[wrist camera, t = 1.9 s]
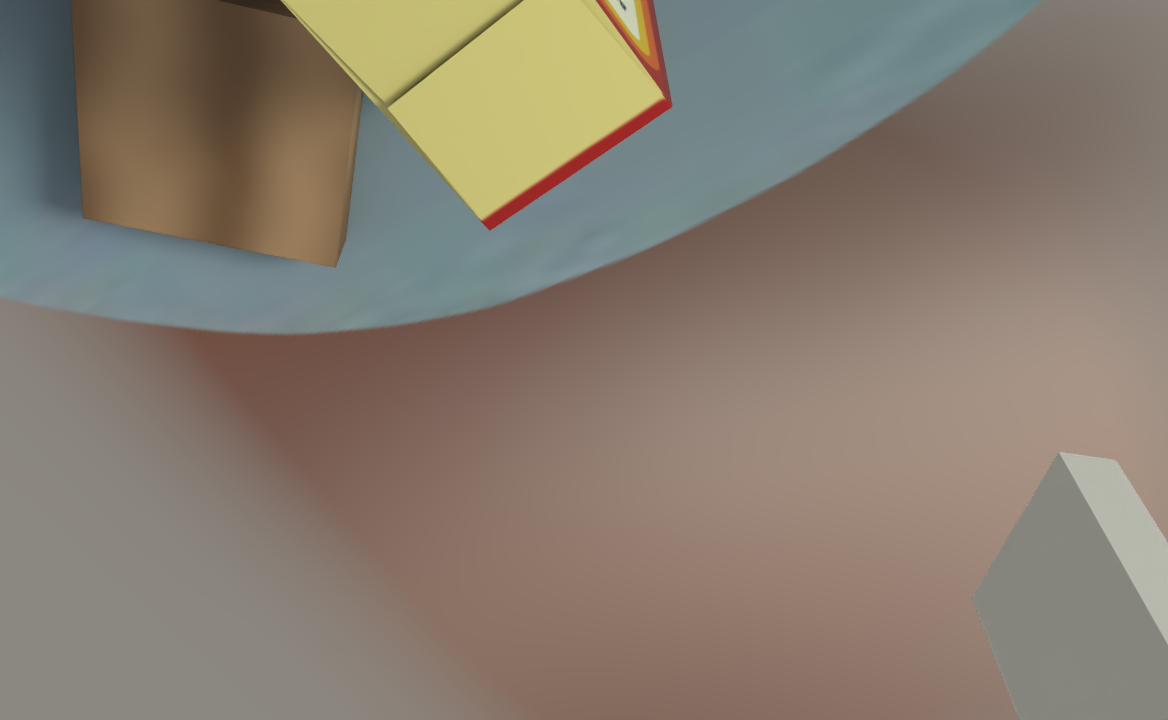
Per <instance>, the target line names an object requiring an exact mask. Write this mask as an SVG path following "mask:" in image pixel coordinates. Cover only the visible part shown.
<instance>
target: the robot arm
mask: <svg viewBox="0 0 1168 720" xmlns="http://www.w3.org/2000/svg"><path fill="white" fill-rule="evenodd" d="M972 601H973V604H974V606H975V609H976V611H977V614H978V617H979V619H980V621H981V624H982V627H983V629H984V632H985V634H986V637H987V639H988V642H989V645H990V647H991V650H992V652H993V654H994V657H995V660H996V662H997V665H998V667H999V670H1000V673H1001V675H1002V677H1003V680H1004V683H1005V685H1006V688H1007V690H1008V693H1009V695H1010V698H1011V700H1012V703H1013V706H1014V708H1015V711H1016V713H1017V716H1018V718H1019V720H1168V543H1167V541H1166V539H1165V538H1164V536H1163V534H1162V533H1161V531H1160V530H1159V528H1158V527H1157V525H1156V523H1155V522H1154V520H1153V519H1152V517H1151V516H1150V514H1149V512H1148V511H1147V509H1146V507H1145V506H1144V504H1143V503H1142V501H1141V500H1140V498H1139V496H1138V495H1137V493H1136V491H1135V490H1134V488H1133V487H1132V485H1131V484H1130V482H1129V480H1128V479H1127V477H1126V476H1125V474H1124V472H1123V471H1122V469H1121V468H1120V466H1119V464H1118V463H1117V461H1116V460H1111V459H1104V458H1097V457H1089V456H1083V455H1076V454H1069V453H1062V452H1059V453H1058V454H1057V456H1056V458H1055V459H1054V461H1053V462H1052V464H1051V466H1050V467H1049V469H1048V471H1047V473H1046V474H1045V476H1044V477H1043V479H1042V481H1041V483H1040V484H1039V486H1038V488H1037V489H1036V491H1035V493H1034V494H1033V496H1032V498H1031V499H1030V501H1029V503H1028V504H1027V506H1026V508H1025V509H1024V511H1023V513H1022V514H1021V516H1020V518H1019V519H1018V521H1017V523H1016V524H1015V526H1014V528H1013V529H1012V531H1011V533H1010V534H1009V536H1008V538H1007V539H1006V541H1005V543H1004V544H1003V546H1002V548H1001V549H1000V551H999V553H998V554H997V556H996V558H995V559H994V561H993V563H992V564H991V566H990V568H989V569H988V571H987V573H986V574H985V576H984V578H983V579H982V581H981V583H980V585H979V586H978V588H977V589H976V591H975V593H974V595H973V596H972Z"/></svg>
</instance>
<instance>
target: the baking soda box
mask: <svg viewBox="0 0 1168 720" xmlns="http://www.w3.org/2000/svg"><path fill="white" fill-rule="evenodd" d="M281 1H282V2H283V3H284V4H285V5H286V7H287V8H288V9H289V10H290V11H291V12H292V13H293V14H294V15H295V16H296V18H297V19H298V20H299V21H300V22H301V23H302V24H303V25H304V26H305V28H306V29H307V30H308V31H309V32H310V33H311V34H312V35H313V36H314V37H315V39H316V40H317V41H318V42H319V43H320V44H321V45H322V46H323V47H324V48H325V50H326V51H327V52H328V53H329V54H330V55H331V56H332V57H333V58H334V60H335V61H336V62H337V63H338V64H339V65H340V66H341V67H342V68H343V69H344V71H345V72H346V73H347V74H348V75H349V76H350V77H351V78H352V79H353V80H354V82H355V83H356V84H357V85H358V86H359V87H360V88H361V89H362V90H363V91H364V93H365V94H366V95H367V96H368V97H369V98H370V99H371V100H372V101H373V103H374V104H375V105H376V106H377V107H378V108H379V109H380V110H381V111H382V112H383V114H384V115H385V116H386V117H387V118H388V119H389V120H390V121H391V122H392V123H393V125H394V126H395V127H396V128H397V129H398V130H399V131H400V132H401V133H402V134H403V136H404V137H405V138H406V139H407V140H408V141H409V142H410V143H411V144H412V146H413V147H414V148H415V149H416V150H417V151H418V152H419V153H420V154H421V155H422V157H423V158H424V159H425V160H426V161H427V162H428V163H429V164H430V165H431V166H432V168H433V169H434V170H435V171H436V172H437V173H438V174H439V175H440V176H441V178H442V179H443V180H444V181H445V182H446V183H447V184H448V185H449V186H450V187H451V189H452V190H453V191H454V192H455V193H456V194H457V195H458V196H459V197H460V198H461V200H462V201H463V202H464V203H465V204H466V205H467V206H468V207H469V208H470V209H471V211H472V212H473V213H474V214H475V215H476V216H477V217H478V218H479V219H480V221H481V222H482V223H483V224H484V225H485V226H486V227H487V228H488V229H489V230H492V229H493V228H495V227H496V226H498V225H499V224H500V223H502V222H503V221H505V220H506V219H508V218H509V217H511V216H512V215H514V214H515V213H517V212H518V211H520V210H521V209H523V208H524V207H525V206H527V205H528V204H530V203H531V202H533V201H534V200H536V199H537V198H539V197H540V196H542V195H543V194H545V193H546V192H548V191H549V190H551V189H552V188H553V187H555V186H556V185H558V184H559V183H561V182H562V181H564V180H565V179H567V178H568V177H570V176H571V175H573V174H574V173H576V172H577V171H578V170H580V169H581V168H583V167H584V166H586V165H587V164H589V163H590V162H592V161H593V160H595V159H596V158H598V157H599V156H601V155H602V154H603V153H605V152H606V151H608V150H609V149H611V148H612V147H614V146H615V145H617V144H618V143H620V142H621V141H623V140H624V139H626V138H627V137H628V136H630V135H631V134H633V133H634V132H636V131H637V130H639V129H640V128H642V127H643V126H645V125H646V124H648V123H649V122H651V121H652V120H653V119H655V118H656V117H658V116H659V115H661V114H662V113H664V112H665V111H667V110H668V109H670V108H671V107H673V106H672V101H671V96H670V90H669V85H668V79H667V74H666V68H665V63H664V58H663V52H662V47H661V41H660V36H659V31H658V25H657V20H656V14H655V9H654V3H653V0H281Z"/></svg>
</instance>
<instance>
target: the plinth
mask: <svg viewBox="0 0 1168 720" xmlns="http://www.w3.org/2000/svg"><path fill="white" fill-rule="evenodd" d="M71 16H72V33H73V50H74V67H75V85H76V102H77V119H78V137H79V154H80V171H81V188H82V206H83V218H85V219H91V220H96V221H101V222H106V223H111V224H116V225H121V226H126V227H131V228H136V229H141V230H146V231H152V232H157V233H162V234H167V235H172V236H177V237H182V238H187V239H192V240H197V241H202V242H208V243H213V244H218V245H223V246H228V247H233V248H238V249H243V250H248V251H253V252H258V253H263V254H269V255H274V256H279V257H284V258H289V259H294V260H299V261H304V262H309V263H314V264H319V265H325V266H330V267H335V268H336V265H337V263H338V260H339V257H340V254H341V252H342V249H343V246H344V243H345V241H346V233H347V225H348V216H349V208H350V199H351V190H352V182H353V173H354V164H355V156H356V147H357V138H358V130H359V121H360V113H361V104H362V95H363V90H362V89H361V88H360V87H359V86H358V85H357V84H356V83H355V82H354V80H353V79H352V78H351V77H350V76H349V75H348V74H347V73H346V72H345V71H344V69H343V68H342V67H341V66H340V65H339V64H338V63H337V62H336V61H335V60H334V58H333V57H332V56H331V55H330V54H329V53H328V52H327V51H326V50H325V48H324V47H323V46H322V45H321V44H320V43H319V42H318V41H317V40H316V39H315V37H314V36H313V35H312V34H311V33H310V32H309V31H308V30H307V29H306V28H305V26H304V25H303V24H302V23H301V22H300V21H299V20H298V19H297V18H296V16H295V15H294V14H293V13H292V12H291V11H290V10H289V9H288V8H287V7H286V5H285V4H284V3H283V2H282V1H281V0H71Z"/></svg>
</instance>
